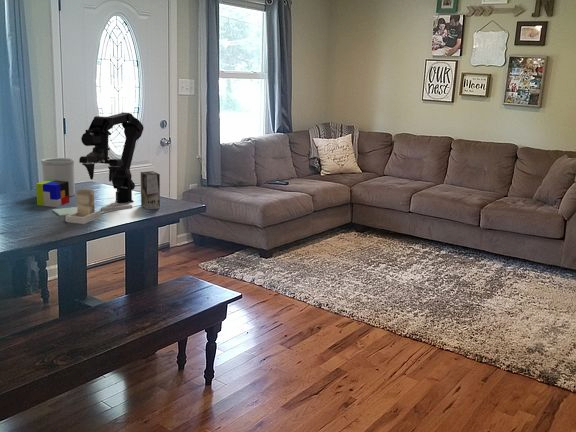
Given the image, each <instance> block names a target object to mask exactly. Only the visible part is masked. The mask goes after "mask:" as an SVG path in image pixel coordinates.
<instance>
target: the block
mask: <svg viewBox="0 0 576 432" xmlns="http://www.w3.org/2000/svg"><path fill="white" fill-rule="evenodd" d="M76 207H77V213H78V217H84V216H87V215H89V214H91V213H94V212H96V211H95V191H94V189H92V188H91V189H90V188H89V189H87V188H81V189H79V190H76Z"/></svg>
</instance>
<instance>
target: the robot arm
mask: <svg viewBox="0 0 576 432" xmlns="http://www.w3.org/2000/svg"><path fill="white" fill-rule="evenodd" d="M119 124H121V126H122V128H123V130H124V131H123V134H124V137H125V141H124V145H123V149H122V153H121V157H120V158H110V156H109V151H111V149H110V148H111V147H109V136H111V135H112V133H111V132H110V130H111V129H113V128H114V126H116V125H119ZM144 128H145V126H144V125H143V123H142V122H141V121H140V119H138V118H136V117H135V116H134V115H133V114H132V113H131V112H120V113H117V114H113V115H109V116H101V115H99V116H98V115H97V116H94V117H93V119H92V121H91V123H90V125H89V126H88V129H85V132H84V133H83V134H82V136H81V138H80V139H81V143H82V144H83V145H84V146H86V147H92V146H93V147H92V151H90V152H89V153H88V154H86V155H83V156H80V157H79V159H78V163H80V164H81V165H82V166H84V167H85V169H86V170H87V172H88V176H89V179H90V180H91V181H92V180H94V175H95V165H96V164H107V165H108V166H107V167H108V170H109V171H108V181H109V182H112V186H113V189H114V190H116V191H115V201H116V202H118V203H120V204H125V203H126V204H127V203H133V202H134V200H133V195H132V194H133V190H134V189H135V188H136V183H134V181H133V180H132V177H133V175H132V173H131V166H132V161H133V157H134V153H135V149H136V146H137V145H136V144H137V141H138V140H139V139H140V138H141V137H142V134H143V131H144Z"/></svg>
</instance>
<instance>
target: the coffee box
mask: <svg viewBox="0 0 576 432" xmlns="http://www.w3.org/2000/svg"><path fill="white" fill-rule="evenodd" d="M160 177H161V175H160V173H158V172H156V171H153V170H152V171H140V206H142V207H143V208H144V209H146V210H158V209H161V205H160V204H161V201H160V200H161V195H160V193H161V190H160V189H161V187H160V186H161V184H160V183H161V181H160V180H161V178H160Z"/></svg>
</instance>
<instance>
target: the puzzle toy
mask: <svg viewBox="0 0 576 432" xmlns="http://www.w3.org/2000/svg"><path fill="white" fill-rule="evenodd" d="M35 188H36V189H35V190H36V205H37V206H42V207H43V206H45V207H53V208H58V207H61V206H63V205H66V204H68V203H70V197H69V183H68V181H57V180H46V181H44V180H43V181H40V182H37V183H35Z"/></svg>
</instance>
